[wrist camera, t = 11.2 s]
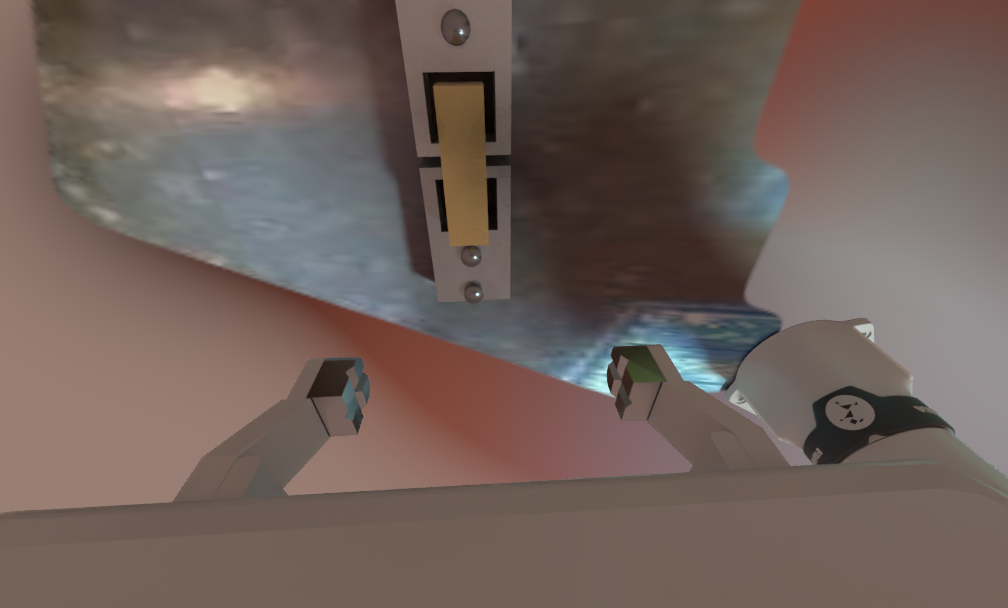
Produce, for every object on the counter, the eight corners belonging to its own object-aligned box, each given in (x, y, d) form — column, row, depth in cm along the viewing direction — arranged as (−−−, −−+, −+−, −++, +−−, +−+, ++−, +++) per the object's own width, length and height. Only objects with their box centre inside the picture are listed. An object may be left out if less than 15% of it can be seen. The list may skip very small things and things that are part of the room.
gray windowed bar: (392, -75, 22) (380, -93, 19) (507, -74, 22) (513, -91, 19) (440, 285, 37) (437, 305, 34) (507, 282, 37) (510, 302, 35)
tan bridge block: (440, 77, 26) (433, 86, 21) (481, 76, 27) (483, 85, 21) (453, 214, 33) (450, 246, 28) (486, 213, 33) (488, 244, 28)
